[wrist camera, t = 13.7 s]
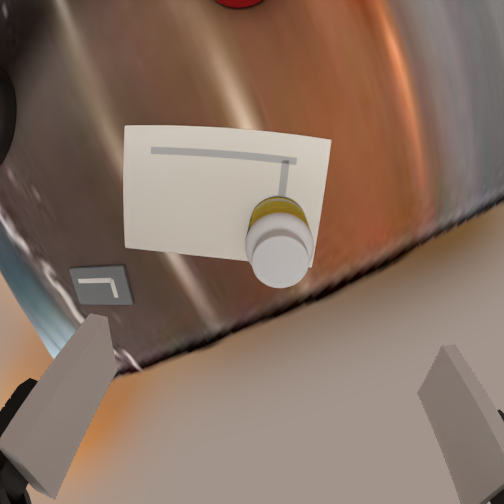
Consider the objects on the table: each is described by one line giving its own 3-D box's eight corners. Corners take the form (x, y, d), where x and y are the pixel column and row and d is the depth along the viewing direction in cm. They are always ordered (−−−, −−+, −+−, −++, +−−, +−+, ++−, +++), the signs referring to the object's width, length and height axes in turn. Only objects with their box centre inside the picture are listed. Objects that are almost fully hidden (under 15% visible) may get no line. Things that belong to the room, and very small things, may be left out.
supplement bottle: (242, 203, 31) (231, 236, 21) (297, 188, 30) (310, 215, 21) (258, 253, 32) (254, 304, 23) (311, 240, 32) (327, 286, 22)
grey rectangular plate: (81, 302, 37) (79, 304, 36) (70, 267, 35) (68, 268, 34) (134, 302, 36) (132, 304, 36) (124, 264, 34) (122, 266, 34)
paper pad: (127, 245, 33) (125, 247, 33) (127, 125, 29) (124, 125, 28) (311, 265, 33) (311, 267, 33) (330, 139, 28) (331, 139, 28)
